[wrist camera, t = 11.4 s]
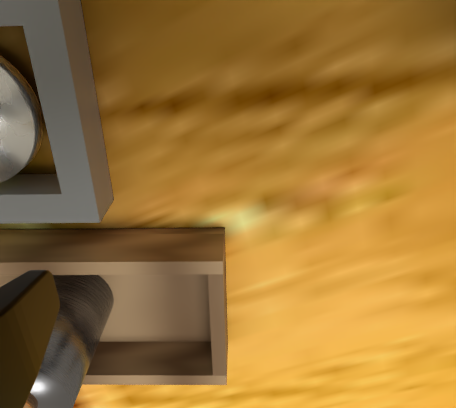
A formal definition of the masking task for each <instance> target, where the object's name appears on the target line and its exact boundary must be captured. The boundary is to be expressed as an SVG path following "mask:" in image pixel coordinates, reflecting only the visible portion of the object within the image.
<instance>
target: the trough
mask: <svg viewBox="0 0 456 408" xmlns="http://www.w3.org/2000/svg"><path fill="white" fill-rule="evenodd" d="M30 270H48V271H50V272H51V273H52V275H99V276H100V277H102V278H103V279H104V280H105V281H106V283H107V284H108V285H109V287H110V288H111V291H112V293H113V298H114V304H113V308H112V310H111V313H110V315H109V318H108V320H107V323H106V325H105V328H104V330H103V333H102V335H101V338H100V340H99V343H98V345H97V348H96V350H95V353H94V355H93V358H92V360H91V363H90V365H89V368H88V370H87V373H86V375H85V378H84V380H83V383H82V384H118V385H227V351H228V335H227V298H226V261H225V228H120V229H0V287H1V286H3V285H5V284H6V283H8V282H10V281H12V280H13V279H15V278H17V277H19V276H20V275H22V274H24V273H26V272H27V271H30Z"/></svg>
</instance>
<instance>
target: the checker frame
mask: <svg viewBox="0 0 456 408" xmlns="http://www.w3.org/2000/svg"><path fill="white" fill-rule="evenodd" d="M0 26H23V29H24V33H25V38H26V42H27V46H28V51H29V55H30V59H31V64H32V68H33V72H34V77H35V81H36V85H37V89H38V94H39V98H40V102H41V107H42V111H43V115H44V120H45V124H46V128H47V133H48V137H49V141H50V146H51V150H52V154H53V159H54V163H55V167H56V172H57V174H16V175H14V176H13V177H11V178H10V179H8V180H6V181H3V182H1V183H0V223H100V222H101V220H102V219H103V217H104V215H105V214H106V212H107V210H108V209H109V207H110V205H111V204H112V202H113V200H114V198H113V192H112V186H111V180H110V174H109V168H108V162H107V156H106V150H105V144H104V138H103V132H102V126H101V120H100V114H99V108H98V102H97V96H96V90H95V84H94V78H93V72H92V66H91V60H90V54H89V48H88V42H87V36H86V30H85V24H84V18H83V12H82V6H81V0H0Z"/></svg>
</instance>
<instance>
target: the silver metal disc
mask: <svg viewBox="0 0 456 408" xmlns="http://www.w3.org/2000/svg"><path fill="white" fill-rule="evenodd" d="M43 130H44V128H43V117H42V112H41V108H40V105H39V102H38V100H37V98H36V95H35V93H34V92H33V90H32V88H31V86H30V85H29V83H28V82H27V81H26V79H25V78H24V77H23V75H22V74H21V73H20V72H19V71H18V70H17V69H16V68H15V67H14V66H13V65H12V64H11V63H10V62H9V61H7V60H6V59H5V58H3V57H2V56H0V183H1V182H3V181H6V180H8V179H10V178H11V177H13V176H14V175H16V174H17V173H18V172H19V171H21V170H22V169H23V168H24V167H26V166H27V165H28V164H29V163H30V162H31V161H32V160H33V159H34V157H35V156H36V154H37V153H38V150H39V148H40V146H41V142H42V139H43Z"/></svg>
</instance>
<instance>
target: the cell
mask: <svg viewBox="0 0 456 408" xmlns="http://www.w3.org/2000/svg"><path fill="white" fill-rule="evenodd" d="M53 278H54V281H55V285H56V288H57V292H58V296H59V300H60V308H59V313H58V316H57V319H56V322H55V325H54V328H53V331H52V334H51V337H50V340H49V343H48V346H47V349H46V352H45V355H44V358H43V361H42V364H41V367H40V370H39V373H38V376H37V378H36V380H35V383H34V385H33V387H32V390H31V392H30V394H29V396H28V399H27V401H26V403H25V405H24V407H23V408H73V405H74V403H75V400H76V398H77V395H78V393H79V390H80V388H81V385H82V383H83V380H84V378H85V375H86V373H87V370H88V368H89V365H90V363H91V360H92V358H93V355H94V353H95V350H96V348H97V345H98V343H99V340H100V338H101V335H102V333H103V330H104V328H105V325H106V323H107V320H108V318H109V315H110V313H111V310H112V308H113V304H114V298H113V293H112V291H111V288H110V287H109V285H108V284H107V283H106V281H105V280H104V279H103V278H102V277H100V276H99V275H53Z"/></svg>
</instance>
